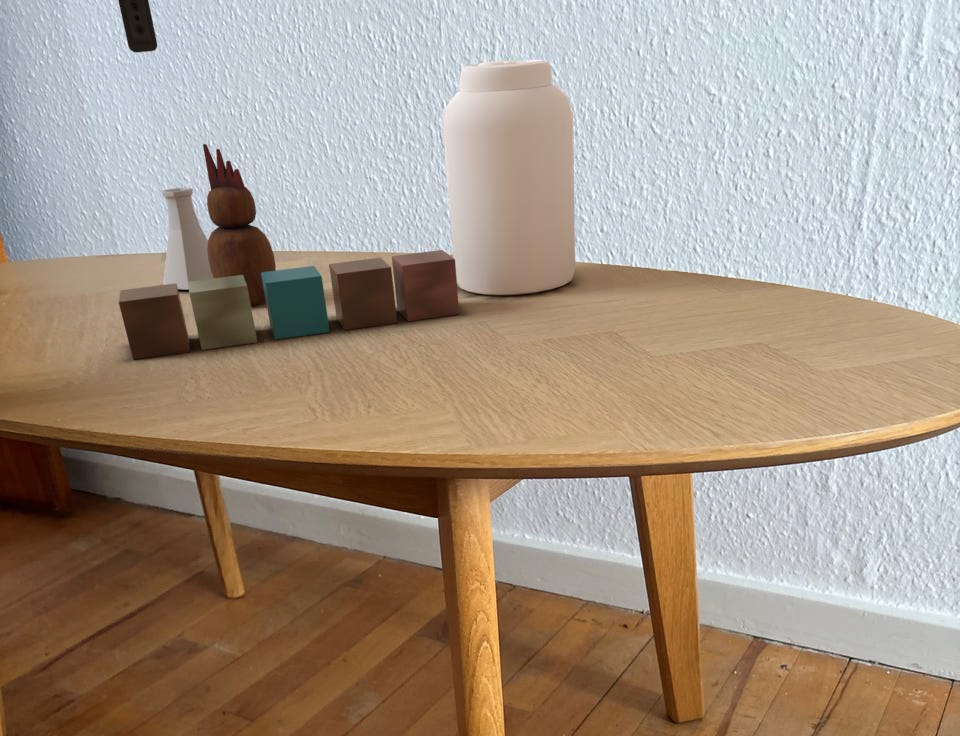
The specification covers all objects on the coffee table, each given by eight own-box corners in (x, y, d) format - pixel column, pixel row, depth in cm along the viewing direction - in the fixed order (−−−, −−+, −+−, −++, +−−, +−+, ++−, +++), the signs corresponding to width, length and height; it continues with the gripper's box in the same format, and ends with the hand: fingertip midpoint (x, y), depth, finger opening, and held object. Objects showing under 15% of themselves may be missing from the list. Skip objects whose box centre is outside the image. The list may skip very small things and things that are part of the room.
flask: (186, 294, 109) (165, 196, 104) (152, 287, 114) (130, 193, 108) (241, 280, 114) (223, 185, 108) (205, 274, 118) (186, 183, 113)
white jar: (453, 301, 98) (435, 68, 88) (457, 273, 109) (441, 63, 98) (580, 292, 98) (577, 58, 87) (571, 266, 108) (567, 54, 98)
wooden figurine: (208, 304, 104) (175, 146, 96) (256, 292, 108) (227, 139, 100) (241, 313, 100) (210, 148, 92) (290, 301, 103) (263, 140, 95)
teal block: (275, 339, 90) (265, 283, 88) (270, 327, 95) (260, 272, 92) (329, 332, 91) (321, 275, 89) (322, 319, 96) (314, 265, 93)
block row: (133, 359, 88) (118, 301, 85) (134, 345, 92) (120, 290, 89) (459, 314, 94) (455, 258, 91) (446, 303, 98) (442, 249, 95)
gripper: (46, -184, 78) (101, 54, 87) (26, -225, 66) (92, 56, 75) (144, -188, 80) (189, 47, 88) (141, -228, 68) (194, 47, 76)
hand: (144, 51), depth 82 cm, fingers open, 8 cm apart
